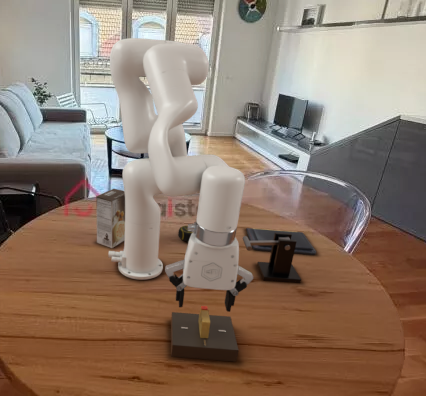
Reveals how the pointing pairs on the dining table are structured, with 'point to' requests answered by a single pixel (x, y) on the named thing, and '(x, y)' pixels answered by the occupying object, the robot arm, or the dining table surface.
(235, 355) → the plate
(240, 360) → the dining table surface
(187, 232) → the tape measure
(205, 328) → the thumbturn
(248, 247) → the door handle
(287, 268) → the handle bracket
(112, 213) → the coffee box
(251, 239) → the dark grey flat tray
